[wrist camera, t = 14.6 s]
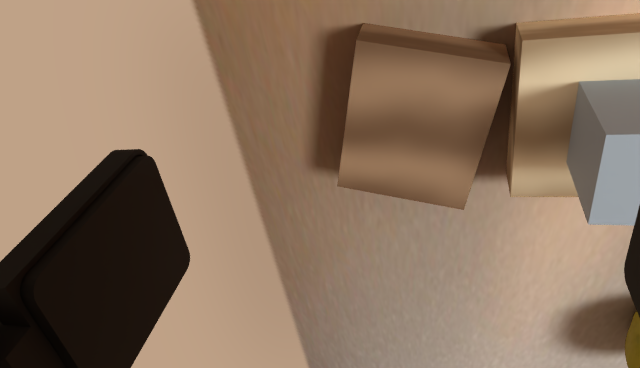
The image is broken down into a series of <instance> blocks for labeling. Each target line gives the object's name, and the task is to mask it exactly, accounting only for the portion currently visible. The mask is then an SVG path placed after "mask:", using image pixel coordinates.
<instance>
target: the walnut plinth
mask: <svg viewBox="0 0 640 368" xmlns="http://www.w3.org/2000/svg"><path fill="white" fill-rule="evenodd" d="M510 65H511V63H510V59H509V56H508V52H507V48H506V45H505V44H500V43H493V42H486V41H480V40H473V39H466V38H460V37H453V36H446V35H440V34H433V33H426V32H420V31H413V30H406V29H400V28H393V27H386V26H379V25H373V24H366V23H363V25H362V27H361V30H360V32H359V35H358V37H357V40H356V46H355V54H354V62H353V69H352V77H351V85H350V92H349V100H348V108H347V115H346V123H345V131H344V139H343V146H342V154H341V162H340V169H339V177H338V185H337V186H339V187H344V188H350V189H355V190H360V191H366V192H371V193H377V194H382V195H387V196H393V197H398V198H403V199H409V200H414V201H419V202H425V203H430V204H435V205H441V206H446V207H451V208H457V209H462V210H464V207H465V204H466V201H467V198H468V195H469V192H470V189H471V186H472V183H473V180H474V176H475V173H476V170H477V167H478V164H479V161H480V158H481V155H482V152H483V149H484V146H485V142H486V139H487V136H488V133H489V130H490V127H491V124H492V121H493V118H494V115H495V111H496V108H497V105H498V102H499V99H500V96H501V93H502V90H503V87H504V84H505V81H506V77H507V74H508V71H509V68H510Z"/></svg>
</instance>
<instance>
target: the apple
mask: <svg viewBox="0 0 640 368" xmlns="http://www.w3.org/2000/svg"><path fill="white" fill-rule="evenodd" d="M625 356H626V361H627V365H628V368H640V318H639V315H638V312H637V311H636V312H635V314H634V316H633V319H632V322H631V325H630V328H629V330H628V333H627V336H626V341H625Z"/></svg>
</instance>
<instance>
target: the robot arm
mask: <svg viewBox="0 0 640 368" xmlns="http://www.w3.org/2000/svg"><path fill="white" fill-rule="evenodd" d="M189 262H190V253H189V250H188V247H187V245H186V242H185V240H184V237H183V234H182V231H181V229H180V226H179V224H178V221H177V218H176V216H175V213H174V210H173V208H172V205H171V202H170V200H169V197H168V195H167V192H166V190H165V187H164V184H163V181H162V179H161V176H160V174H159V171H158V168H157V166H156V163H155V161H154V159H153V158H152V157H150V156H147V154H146V153H145V152H144V151H143V150H140V149H134V150H114V151H112V152H111V153H110V154H109V155H108V156H107V157H106V158H105V159H104V160H103V161H102V162H101V163H100V164H99V165H98V166H97V167H96V168H94V169H93V170H92V172H90V174H88V175H87V177H85V179H83V180H82V181H81V182H80V183H79V184H78V185H77V186H76V187H75V188H74V189H73V190H72V191H71V192H70V193H69V194H68V195H67V196H66V197H65V198H64V199H63V200H62V201H61V202H60V203H59V204H58V205H57V206H56V207H55V208H54V209H53V210H52V211H51V212H50V213H49V214H48V215H47V216H46V217H45V218H44V219H43V220H42V221H41V222H40V223H39V224H38V225H37V226H36V227H35V228H34V229H33V230H32V231H31V232H30V233H29V234H28V235H27V236H26V237H25V238H24V239H23V240H22V241H21V242H20V243H19V244H18V245H17V246H16V247H15V248H14V249H13V250H12V251H11V252H10V253H9V254H8V255H7V256H6V257H5V258H4V259H3V260H2V261H1V262H0V368H131V366H132V364H133V363H134V361H135V359H136V357H137V356H138V354H139V352H140V350H141V349H142V347H143V345H144V343H145V342H146V340H147V338H148V337H149V335H150V333H151V331H152V330H153V328H154V326H155V324H156V323H157V321H158V319H159V317H160V316H161V314H162V312H163V310H164V309H165V307H166V305H167V303H168V302H169V300H170V298H171V297H172V295H173V293H174V291H175V290H176V288H177V286H178V284H179V283H180V281H181V279H182V277H183V276H184V274H185V272H186V270H187V269H188V266H189ZM624 273H625V281H626V284H627V287H628V290H629V292H630V295H631V297H632V300H633V302H634V305H635V307H636V310H637V312H638V315H639V318H640V205H639V209H638V213H637V217H636V221H635V225H634V229H633V233H632V237H631V241H630V245H629V249H628V253H627V257H626V261H625V267H624Z"/></svg>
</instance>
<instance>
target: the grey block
mask: <svg viewBox="0 0 640 368" xmlns="http://www.w3.org/2000/svg"><path fill="white" fill-rule="evenodd" d="M566 162H567V165H568V168H569V171H570V174H571V177H572V179H573V182H574V185H575V188H576V191H577V194H578V197H579V199H580V202H581V205H582V208H583V211H584V214H585V217H586V219H587V222H588V224H593V225H635V221H636V217H637V213H638V209H639V205H640V79H632V80H605V81H579V85H578V91H577V98H576V104H575V110H574V117H573V123H572V129H571V136H570V142H569V148H568V155H567V161H566Z"/></svg>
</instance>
